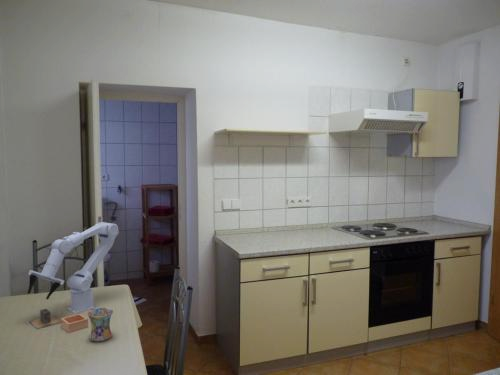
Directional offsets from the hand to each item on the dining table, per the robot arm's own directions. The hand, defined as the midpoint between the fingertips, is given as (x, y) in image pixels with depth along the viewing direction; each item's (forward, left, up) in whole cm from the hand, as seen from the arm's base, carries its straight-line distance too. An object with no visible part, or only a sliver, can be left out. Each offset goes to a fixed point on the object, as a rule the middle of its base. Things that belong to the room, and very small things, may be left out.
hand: (37, 296), depth 170 cm
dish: (-9, +15, -12) cm, 21 cm away
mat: (-2, +2, -12) cm, 12 cm away
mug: (-13, +30, -12) cm, 35 cm away
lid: (-2, +2, -12) cm, 12 cm away
